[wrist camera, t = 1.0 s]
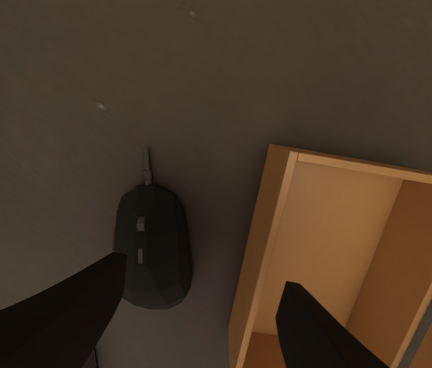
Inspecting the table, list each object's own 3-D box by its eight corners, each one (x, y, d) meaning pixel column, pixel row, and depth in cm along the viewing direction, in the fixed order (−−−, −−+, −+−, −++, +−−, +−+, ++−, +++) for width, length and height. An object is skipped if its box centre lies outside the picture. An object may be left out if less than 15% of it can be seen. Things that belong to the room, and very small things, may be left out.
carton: (269, 143, 18) (290, 150, 12) (408, 167, 18) (488, 184, 13) (227, 327, 22) (230, 390, 17) (339, 344, 23) (375, 412, 17)
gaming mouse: (185, 147, 18) (176, 152, 14) (194, 300, 22) (188, 338, 18) (108, 148, 18) (78, 154, 14) (130, 301, 22) (110, 338, 18)
